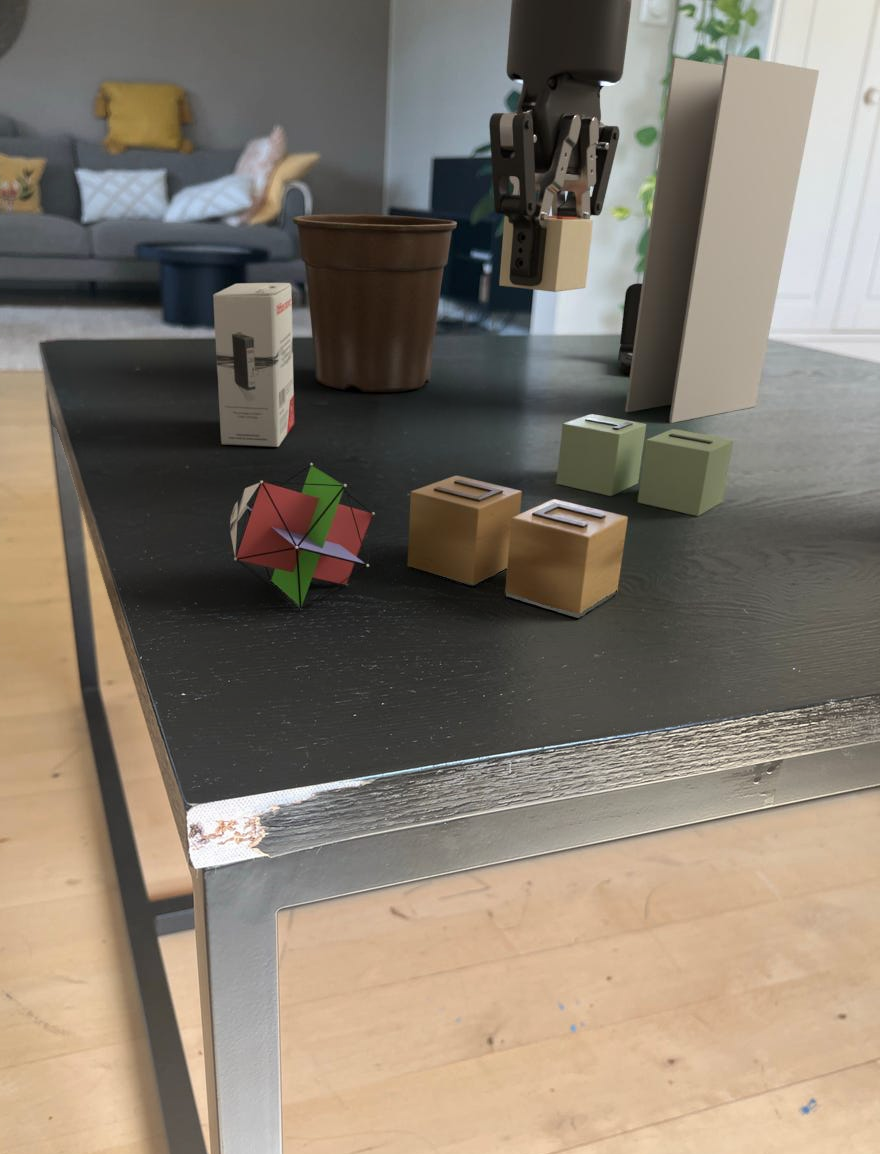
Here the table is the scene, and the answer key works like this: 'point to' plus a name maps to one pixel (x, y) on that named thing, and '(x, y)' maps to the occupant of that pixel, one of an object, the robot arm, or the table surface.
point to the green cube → (600, 454)
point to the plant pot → (373, 297)
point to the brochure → (718, 233)
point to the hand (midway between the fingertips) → (543, 281)
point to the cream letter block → (556, 254)
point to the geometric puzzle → (301, 533)
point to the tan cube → (461, 528)
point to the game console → (629, 326)
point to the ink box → (254, 363)
